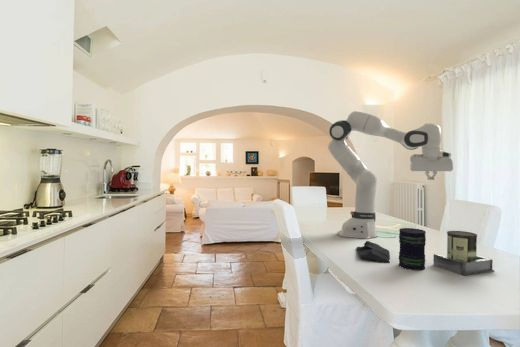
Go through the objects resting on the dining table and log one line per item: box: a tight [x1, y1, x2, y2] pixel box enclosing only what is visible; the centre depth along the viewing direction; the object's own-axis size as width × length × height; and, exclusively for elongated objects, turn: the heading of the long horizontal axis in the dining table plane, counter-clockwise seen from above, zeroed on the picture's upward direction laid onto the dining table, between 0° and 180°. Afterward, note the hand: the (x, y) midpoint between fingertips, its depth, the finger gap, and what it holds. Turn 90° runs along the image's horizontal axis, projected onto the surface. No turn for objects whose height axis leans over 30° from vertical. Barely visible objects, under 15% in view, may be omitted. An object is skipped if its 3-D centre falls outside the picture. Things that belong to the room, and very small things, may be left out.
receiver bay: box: [432, 253, 495, 277], centre depth 125 cm, size 14×16×4 cm
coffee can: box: [446, 230, 478, 262], centre depth 126 cm, size 10×10×14 cm
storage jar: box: [398, 227, 427, 271], centre depth 126 cm, size 10×10×15 cm
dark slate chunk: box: [356, 240, 391, 264], centre depth 143 cm, size 15×22×5 cm
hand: (430, 179), depth 165 cm, fingers closed
